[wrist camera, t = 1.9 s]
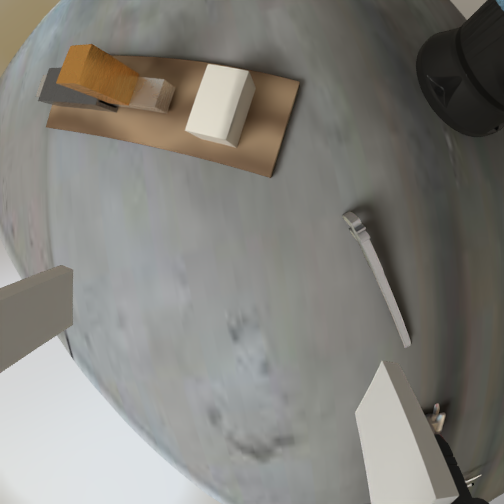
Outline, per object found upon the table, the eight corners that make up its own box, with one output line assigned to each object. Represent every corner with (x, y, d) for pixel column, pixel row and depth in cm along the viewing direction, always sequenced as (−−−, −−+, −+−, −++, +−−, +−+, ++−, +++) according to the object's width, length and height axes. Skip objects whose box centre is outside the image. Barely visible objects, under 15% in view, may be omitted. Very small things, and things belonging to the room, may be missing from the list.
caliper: (340, 215, 35) (349, 220, 29) (348, 210, 34) (359, 214, 28) (404, 346, 37) (418, 370, 30) (410, 343, 36) (425, 365, 30)
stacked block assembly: (57, 78, 33) (-3, 58, 20) (176, 85, 32) (120, 43, 19) (49, 102, 34) (-13, 87, 21) (166, 115, 33) (104, 84, 20)
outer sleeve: (69, 76, 34) (49, 68, 29) (128, 78, 33) (108, 67, 28) (59, 106, 35) (38, 100, 30) (116, 112, 34) (95, 104, 29)
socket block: (220, 80, 32) (208, 63, 26) (255, 88, 31) (248, 70, 26) (201, 139, 33) (184, 130, 28) (236, 147, 33) (225, 139, 28)
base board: (74, 59, 35) (69, 57, 33) (299, 86, 32) (299, 81, 31) (51, 128, 37) (45, 127, 36) (270, 178, 35) (270, 177, 33)
